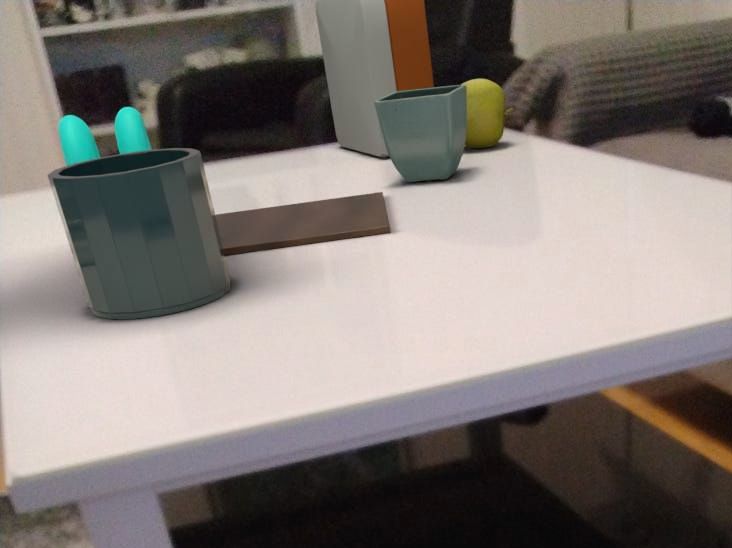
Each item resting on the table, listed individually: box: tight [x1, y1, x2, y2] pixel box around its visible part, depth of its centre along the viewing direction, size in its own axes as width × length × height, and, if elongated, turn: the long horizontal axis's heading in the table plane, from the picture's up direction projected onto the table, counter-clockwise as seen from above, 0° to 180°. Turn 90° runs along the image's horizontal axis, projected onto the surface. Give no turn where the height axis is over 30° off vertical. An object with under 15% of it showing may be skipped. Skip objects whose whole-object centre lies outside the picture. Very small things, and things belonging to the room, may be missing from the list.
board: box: [215, 191, 391, 256], centre depth 104 cm, size 20×18×1 cm
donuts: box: [58, 106, 152, 166], centre depth 128 cm, size 10×10×10 cm
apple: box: [460, 78, 515, 149], centre depth 131 cm, size 8×9×8 cm
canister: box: [47, 147, 232, 320], centre depth 83 cm, size 12×12×10 cm
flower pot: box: [374, 84, 467, 183], centre depth 117 cm, size 9×9×9 cm
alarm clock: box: [315, 0, 435, 159], centre depth 137 cm, size 18×9×21 cm, turn 26°
